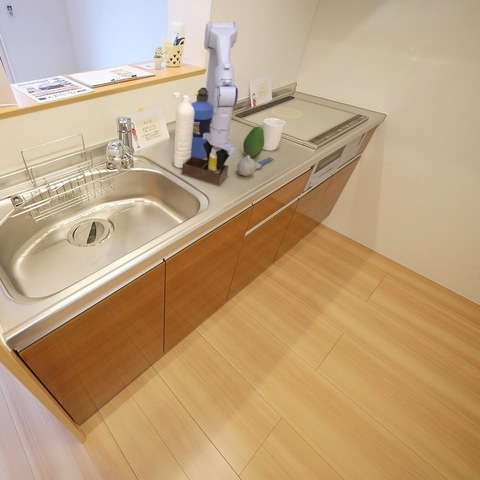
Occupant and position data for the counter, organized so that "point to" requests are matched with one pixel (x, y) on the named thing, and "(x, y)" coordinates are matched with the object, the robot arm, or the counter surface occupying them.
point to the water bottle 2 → (201, 123)
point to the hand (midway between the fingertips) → (214, 165)
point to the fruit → (254, 142)
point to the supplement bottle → (213, 160)
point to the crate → (203, 171)
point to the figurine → (246, 166)
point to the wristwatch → (261, 163)
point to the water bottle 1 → (183, 131)
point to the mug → (272, 133)
